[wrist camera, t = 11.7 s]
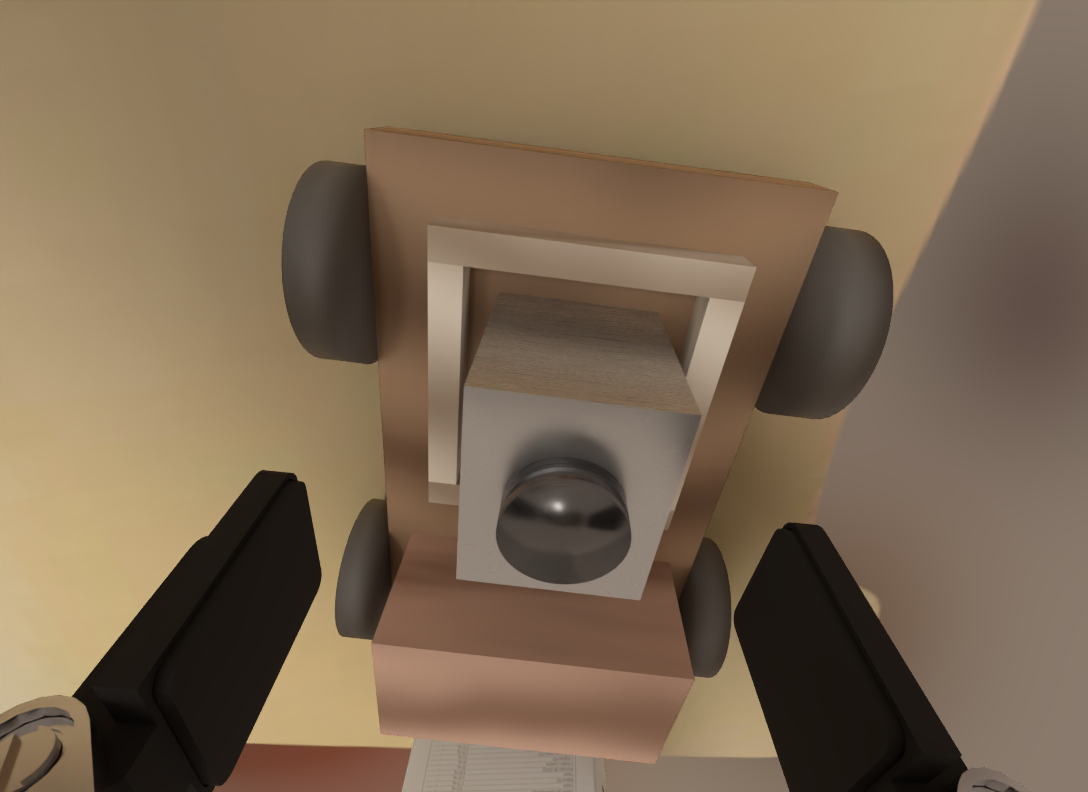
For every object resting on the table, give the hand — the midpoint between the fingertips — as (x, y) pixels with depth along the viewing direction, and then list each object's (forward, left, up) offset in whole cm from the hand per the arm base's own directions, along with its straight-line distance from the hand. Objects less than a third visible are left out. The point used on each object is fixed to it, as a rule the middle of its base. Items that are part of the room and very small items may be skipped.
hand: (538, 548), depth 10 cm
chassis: (+4, +1, -11) cm, 12 cm away
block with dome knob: (0, +1, -8) cm, 8 cm away
